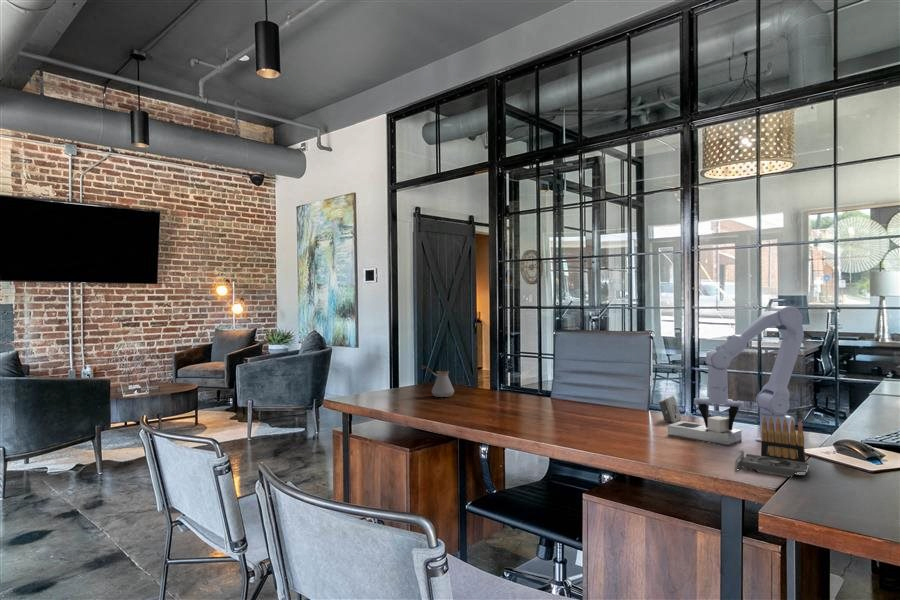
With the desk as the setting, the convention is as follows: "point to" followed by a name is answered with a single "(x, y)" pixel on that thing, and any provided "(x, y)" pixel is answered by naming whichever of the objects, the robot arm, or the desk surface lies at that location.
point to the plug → (718, 424)
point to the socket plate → (703, 433)
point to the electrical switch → (670, 410)
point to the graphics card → (769, 465)
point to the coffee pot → (441, 384)
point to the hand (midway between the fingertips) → (718, 428)
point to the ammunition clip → (783, 441)
